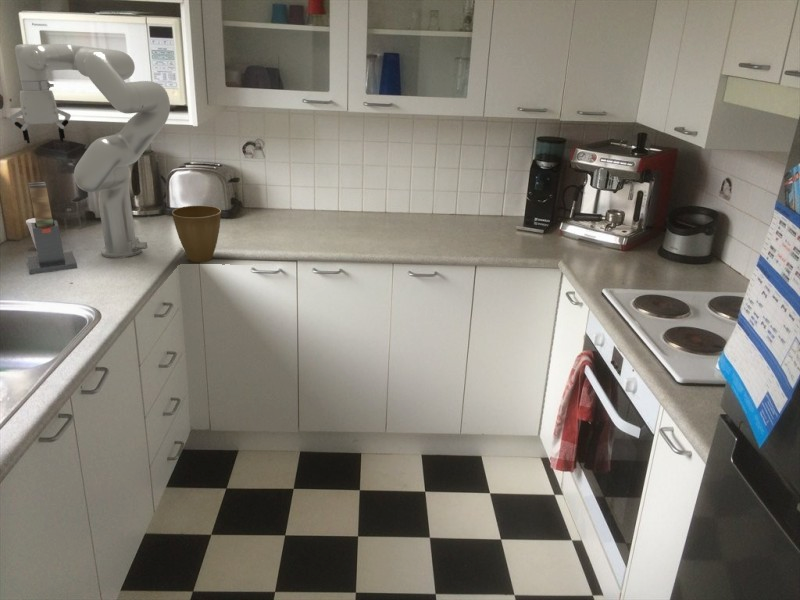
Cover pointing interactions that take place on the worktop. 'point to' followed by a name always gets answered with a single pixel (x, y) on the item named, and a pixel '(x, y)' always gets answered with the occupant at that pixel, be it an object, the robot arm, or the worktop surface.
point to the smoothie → (31, 227)
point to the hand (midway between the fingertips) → (45, 141)
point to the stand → (49, 251)
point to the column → (41, 204)
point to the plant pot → (198, 230)
